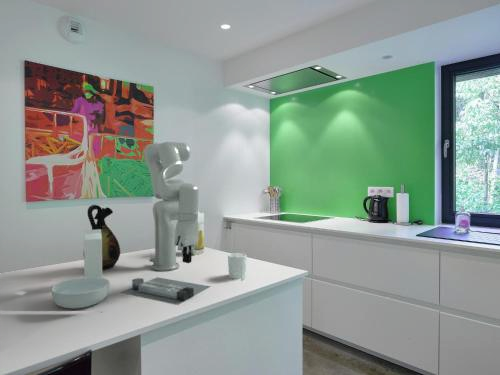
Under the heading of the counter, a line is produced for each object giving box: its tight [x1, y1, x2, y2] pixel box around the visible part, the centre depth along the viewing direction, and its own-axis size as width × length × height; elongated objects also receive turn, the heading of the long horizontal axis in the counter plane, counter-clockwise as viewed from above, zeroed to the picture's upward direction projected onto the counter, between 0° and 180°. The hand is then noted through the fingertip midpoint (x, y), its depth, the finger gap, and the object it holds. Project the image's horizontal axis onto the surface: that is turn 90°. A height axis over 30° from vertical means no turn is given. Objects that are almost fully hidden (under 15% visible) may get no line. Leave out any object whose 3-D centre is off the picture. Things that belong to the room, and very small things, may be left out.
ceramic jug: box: [83, 204, 121, 271], centre depth 148 cm, size 17×15×30 cm
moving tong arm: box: [131, 277, 195, 299], centre depth 117 cm, size 25×5×3 cm, turn 64°
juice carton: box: [191, 210, 205, 256], centre depth 182 cm, size 9×8×24 cm
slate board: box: [119, 277, 211, 306], centre depth 120 cm, size 26×20×1 cm
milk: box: [83, 229, 103, 278], centre depth 126 cm, size 6×6×22 cm
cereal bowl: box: [51, 277, 111, 310], centre depth 107 cm, size 17×17×7 cm
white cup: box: [227, 252, 248, 281], centre depth 137 cm, size 8×8×10 cm
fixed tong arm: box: [139, 283, 189, 302], centre depth 114 cm, size 20×3×3 cm, turn 65°
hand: (186, 262), depth 129 cm, fingers closed
